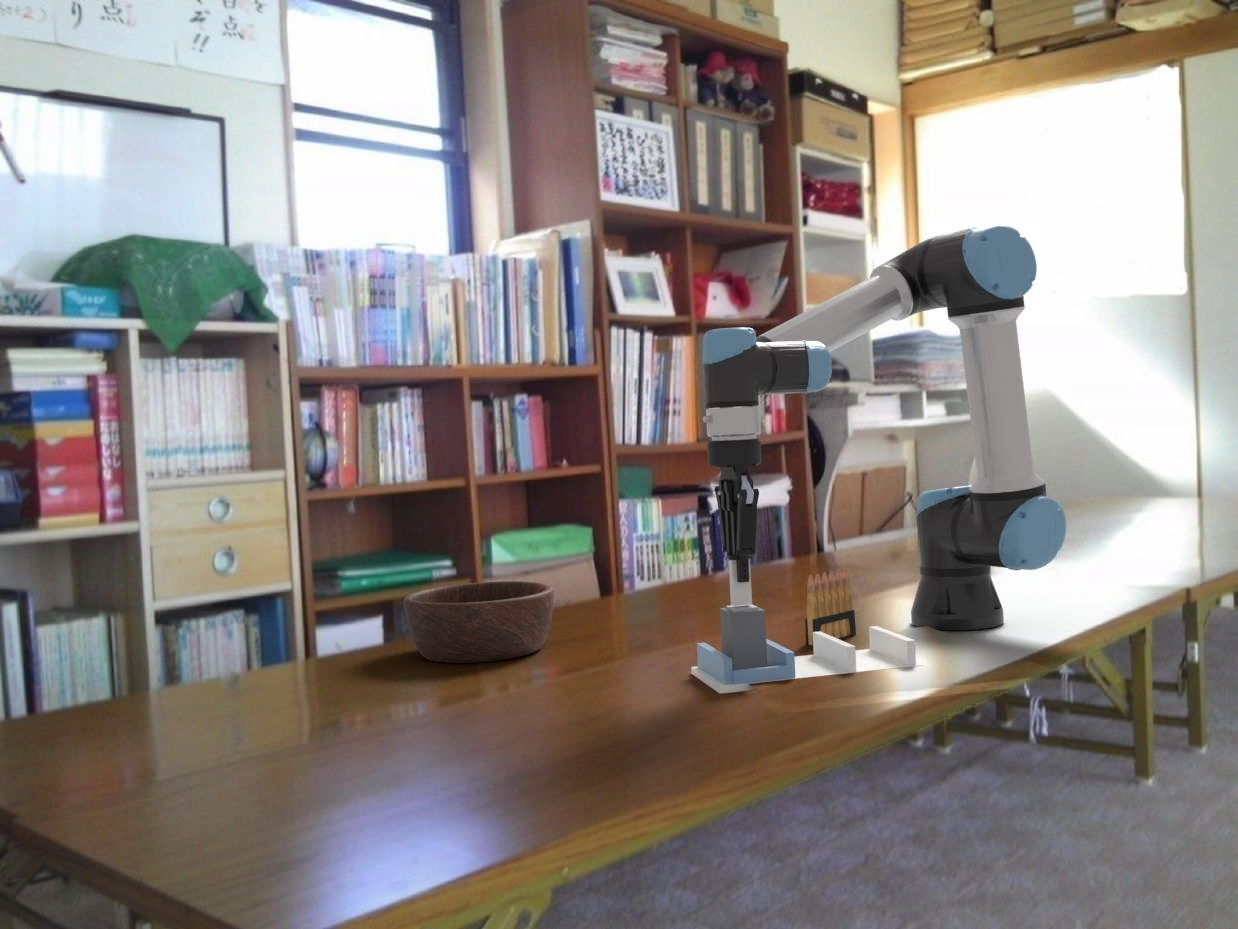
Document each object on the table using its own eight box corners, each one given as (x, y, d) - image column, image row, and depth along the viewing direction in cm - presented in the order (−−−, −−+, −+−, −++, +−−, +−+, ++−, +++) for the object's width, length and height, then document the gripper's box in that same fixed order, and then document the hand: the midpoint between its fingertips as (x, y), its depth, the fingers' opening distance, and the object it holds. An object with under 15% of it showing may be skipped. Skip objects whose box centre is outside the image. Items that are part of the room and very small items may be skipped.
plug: (756, 667, 181) (753, 602, 180) (767, 673, 176) (764, 607, 175) (723, 670, 180) (719, 605, 179) (733, 677, 175) (730, 610, 174)
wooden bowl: (376, 659, 209) (372, 597, 208) (489, 634, 227) (486, 577, 227) (474, 674, 192) (470, 608, 191) (587, 646, 210) (584, 585, 210)
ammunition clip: (815, 652, 194) (811, 575, 194) (805, 651, 196) (801, 574, 195) (856, 641, 201) (853, 567, 201) (847, 639, 203) (844, 566, 202)
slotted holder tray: (881, 654, 190) (880, 624, 190) (923, 672, 176) (922, 640, 176) (691, 673, 183) (689, 643, 183) (719, 693, 170) (718, 660, 169)
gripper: (695, 439, 182) (702, 600, 183) (721, 440, 169) (730, 613, 170) (744, 436, 183) (751, 596, 184) (774, 437, 171) (782, 608, 172)
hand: (741, 604), depth 177 cm, fingers closed
